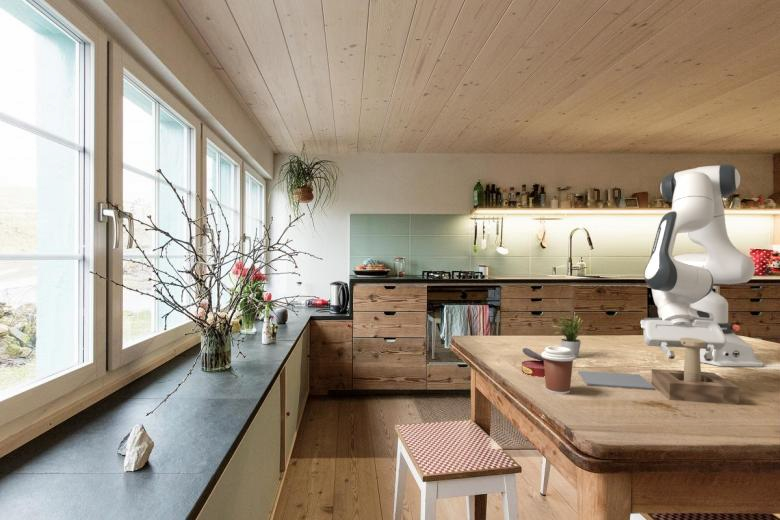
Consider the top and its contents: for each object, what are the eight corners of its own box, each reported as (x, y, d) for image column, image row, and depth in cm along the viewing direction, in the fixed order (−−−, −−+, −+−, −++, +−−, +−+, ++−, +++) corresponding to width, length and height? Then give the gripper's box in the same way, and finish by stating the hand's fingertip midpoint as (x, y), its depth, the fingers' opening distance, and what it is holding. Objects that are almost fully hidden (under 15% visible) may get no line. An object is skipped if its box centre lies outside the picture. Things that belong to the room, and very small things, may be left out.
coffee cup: (557, 397, 118) (557, 353, 118) (534, 388, 127) (534, 346, 126) (582, 393, 122) (582, 350, 122) (557, 384, 130) (558, 344, 130)
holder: (712, 388, 126) (713, 372, 126) (738, 404, 113) (739, 387, 113) (651, 384, 130) (651, 369, 130) (669, 399, 117) (669, 382, 117)
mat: (639, 376, 138) (639, 374, 138) (654, 390, 125) (654, 387, 125) (578, 372, 143) (578, 370, 143) (586, 385, 129) (586, 383, 129)
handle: (692, 389, 125) (692, 337, 125) (709, 397, 118) (710, 342, 118) (675, 390, 125) (676, 337, 124) (691, 397, 118) (692, 342, 118)
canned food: (522, 383, 146) (518, 354, 151) (554, 382, 144) (548, 352, 149) (523, 376, 137) (519, 345, 141) (557, 374, 135) (552, 343, 139)
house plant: (556, 349, 176) (556, 309, 175) (593, 354, 167) (593, 312, 167) (545, 356, 164) (546, 313, 164) (585, 362, 156) (585, 316, 156)
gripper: (641, 311, 132) (651, 350, 123) (719, 314, 127) (736, 354, 118) (636, 323, 136) (646, 362, 127) (711, 326, 131) (727, 367, 122)
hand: (690, 358), depth 122 cm, fingers open, 8 cm apart
